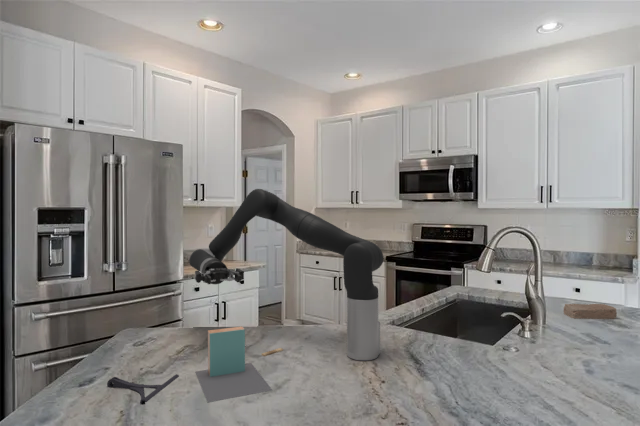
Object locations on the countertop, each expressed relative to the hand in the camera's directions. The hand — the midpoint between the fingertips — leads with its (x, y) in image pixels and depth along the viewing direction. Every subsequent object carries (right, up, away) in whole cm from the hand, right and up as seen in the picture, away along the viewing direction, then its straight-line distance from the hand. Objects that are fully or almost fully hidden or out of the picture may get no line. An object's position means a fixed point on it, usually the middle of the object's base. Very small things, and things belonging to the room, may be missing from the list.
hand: (224, 279), depth 123 cm
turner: (+11, -22, -1) cm, 25 cm away
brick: (+135, -22, +45) cm, 144 cm away
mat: (+6, -23, -18) cm, 30 cm away
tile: (+3, -22, -13) cm, 26 cm away
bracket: (-17, -24, -21) cm, 36 cm away
